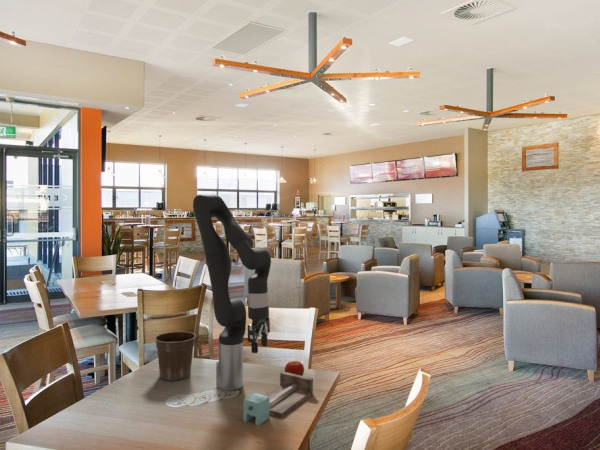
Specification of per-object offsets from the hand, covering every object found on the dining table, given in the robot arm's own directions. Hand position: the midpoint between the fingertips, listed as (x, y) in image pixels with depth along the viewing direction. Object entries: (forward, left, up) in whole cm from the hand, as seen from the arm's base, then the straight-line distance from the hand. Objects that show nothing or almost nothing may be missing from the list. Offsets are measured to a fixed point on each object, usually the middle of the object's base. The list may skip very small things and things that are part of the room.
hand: (259, 349), depth 160 cm
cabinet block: (+9, -14, -18) cm, 24 cm away
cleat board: (+9, +2, -18) cm, 20 cm away
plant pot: (-41, 0, -18) cm, 45 cm away
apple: (+3, +21, -18) cm, 27 cm away
